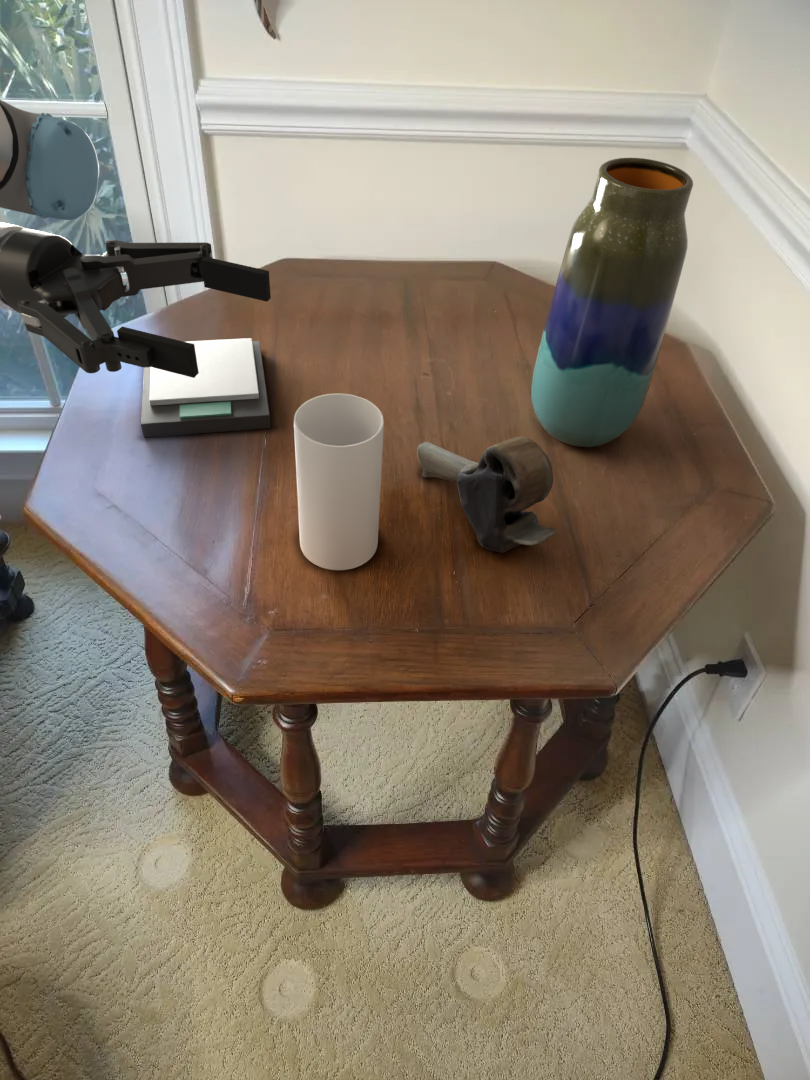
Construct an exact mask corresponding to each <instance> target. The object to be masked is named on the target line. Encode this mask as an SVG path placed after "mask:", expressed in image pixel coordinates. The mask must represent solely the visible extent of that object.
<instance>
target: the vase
mask: <svg viewBox="0 0 810 1080" xmlns="http://www.w3.org/2000/svg"><path fill="white" fill-rule="evenodd" d="M693 188H694V180H693V178H692V177H691V176H690V175H689V174H688V173H687V172H686V171H685V170H684V169H681V168H679V167H677V166H675V165H673V164H669V163H666V162H663V161H661V160H660V161H659V160H655V159H649V158H644V157H643V158H641V157H619V158H613V159H610V160H607V161H605V162H603V163H602V164H601V165H600V167H599V168H598V172H597V177H596V179H595V184H594V188H593V191H592V196H591V197H590V199H589V201H588V202H587V204H585V206H584V208H583V209H582V210H581V211H580V213H579V215H578V216H577V217H576V219H575V220H574V222H573V224H572V226H571V229H570V233H569V236H568V239H567V243H566V247H565V250H564V252H563V253H564V254H563V257H562V261H561V265H560V268H559V273H558V276H557V279H556V283H555V286H554V290H553V294H552V298H551V302H550V305H549V309H548V312H547V315H546V319H545V323H544V327H543V331H542V335H541V339H540V342H539V345H538V350H537V353H536V358H535V361H534V365H533V370H532V376H531V383H530V400H531V406H532V409H533V412H534V414H535V416H536V419H537V420H538V422H539V424H540V426H541V427H542V428H543V429H544V431H545V432H546V433H547V434H548V435H549V436H550V437H552V438H554V439H555V440H557V441H559V442H561V443H563V444H566V445H569V446H573V447H578V448H595V447H599V446H600V447H601V446H603V445H605V444H609V443H610V442H612V441H613V440H614V441H615V440H616V439H617V438H619V437H620V436H621V435H623V434H624V433H625V432H626V431H627V430H629V428H631V426H632V425H633V424H634V422H635V421H636V420H637V418H638V417H639V414H640V412H641V410H642V408H643V406H644V403H645V401H646V398H647V395H648V392H649V390H650V386H651V382H652V379H653V376H654V373H655V371H656V370H655V369H656V365H657V363H658V359H659V355H660V352H661V348H662V344H663V341H664V337H665V333H666V331H667V326H668V323H669V319H670V315H671V312H672V308H673V304H674V301H675V297H676V294H677V289H678V286H679V283H680V280H681V276H682V271H683V268H684V265H685V260H686V257H687V251H688V242H689V241H688V239H689V238H688V231H687V224H686V211H687V207H688V205H689V200H690V197H691V194H692V190H693Z"/></svg>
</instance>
